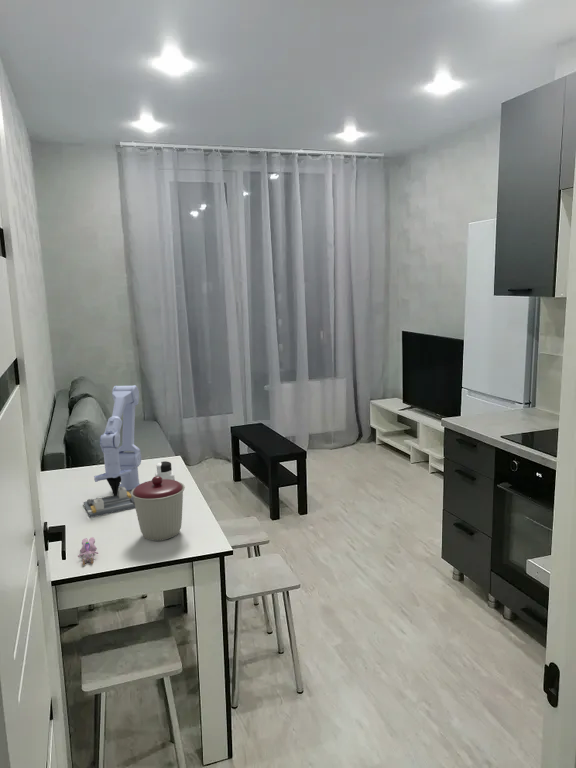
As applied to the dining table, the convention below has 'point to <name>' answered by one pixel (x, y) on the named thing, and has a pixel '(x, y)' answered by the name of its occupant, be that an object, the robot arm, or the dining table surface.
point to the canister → (159, 507)
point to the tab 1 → (99, 504)
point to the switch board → (110, 505)
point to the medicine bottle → (165, 470)
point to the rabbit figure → (88, 550)
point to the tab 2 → (122, 492)
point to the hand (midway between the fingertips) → (115, 495)
